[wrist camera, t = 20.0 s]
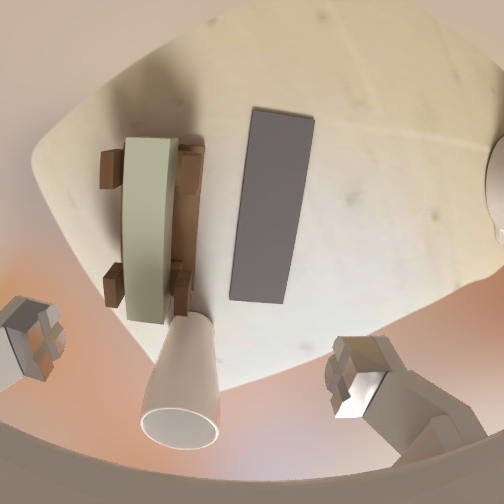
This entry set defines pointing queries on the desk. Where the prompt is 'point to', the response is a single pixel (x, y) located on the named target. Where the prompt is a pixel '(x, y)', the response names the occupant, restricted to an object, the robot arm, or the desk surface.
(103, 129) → the desk surface
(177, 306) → the rack
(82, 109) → the desk surface
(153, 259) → the clay strip
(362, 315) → the desk surface
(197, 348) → the drinking glass
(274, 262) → the pad
